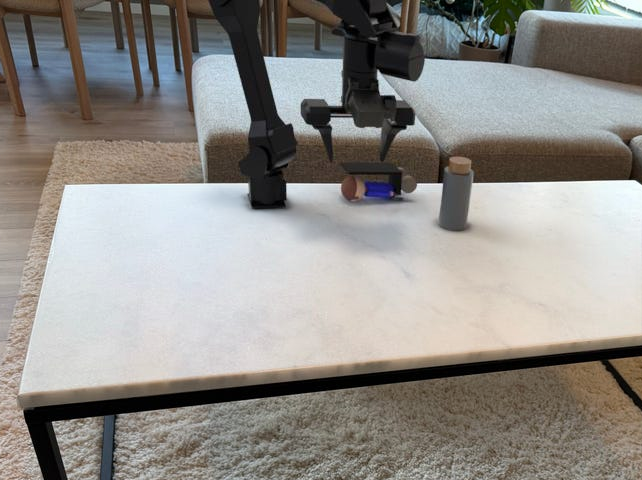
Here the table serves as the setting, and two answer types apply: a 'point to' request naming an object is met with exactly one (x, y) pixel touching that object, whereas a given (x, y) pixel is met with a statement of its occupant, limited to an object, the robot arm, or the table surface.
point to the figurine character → (357, 188)
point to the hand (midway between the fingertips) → (356, 161)
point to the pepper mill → (456, 194)
